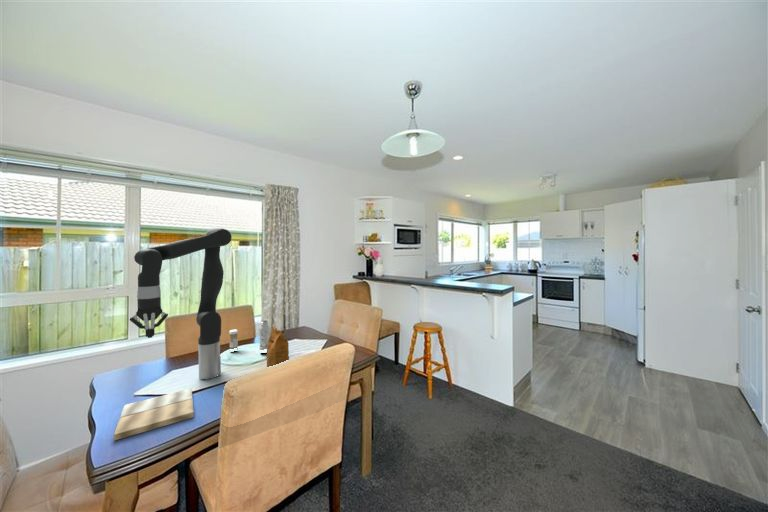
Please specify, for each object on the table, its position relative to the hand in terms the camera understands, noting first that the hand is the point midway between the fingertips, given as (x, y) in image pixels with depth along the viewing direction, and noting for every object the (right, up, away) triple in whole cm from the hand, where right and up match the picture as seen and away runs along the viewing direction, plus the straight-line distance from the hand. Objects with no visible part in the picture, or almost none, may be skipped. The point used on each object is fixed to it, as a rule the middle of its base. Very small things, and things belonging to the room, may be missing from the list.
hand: (150, 337), depth 117 cm
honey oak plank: (+14, -27, -13) cm, 33 cm away
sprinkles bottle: (+5, -26, +56) cm, 62 cm away
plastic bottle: (+26, -26, +53) cm, 65 cm away
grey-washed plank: (+7, -27, -4) cm, 28 cm away
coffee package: (+42, -27, +32) cm, 59 cm away
